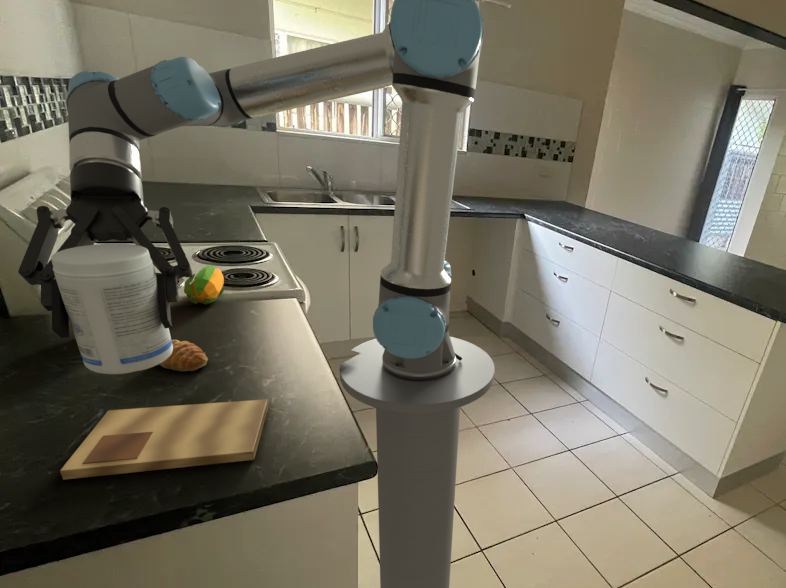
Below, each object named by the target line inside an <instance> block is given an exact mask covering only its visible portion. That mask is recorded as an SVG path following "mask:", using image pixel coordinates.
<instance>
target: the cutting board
mask: <svg viewBox="0 0 786 588" xmlns="http://www.w3.org/2000/svg"><path fill="white" fill-rule="evenodd" d="M269 407H270V406H269V399H264V398H263V399H251V400H238V401H223V402H208V403H196V404H195V403H193V404H182V405H165V406H154V407H152V406H150V407H138V408H137V407H136V408H123V409H109V410H107V411H106V413H105V414H104V415H103V416H102V418H100V420H99V421H98V422H97V424H96V425H95V426H94V428H93V429H91V431H90V432H89V434H88V435H87V436H86V437H85V438H84V440H83V441H82V442H81V444H80V445H79V446H78V448H77V449H76V450H75V451H74V452H73V454H72V455H71V456H70V458H69V459H68V460H67V461H66V462H65V464H64V465H63V466H62V467H61V469H60V470H59V472H60V475H61V478H62V480H63V481H65V480H74V479H76V480H77V479H84V478H92V477H93V478H94V477H103V476H112V475H114V476H115V475H121V474H123V475H124V474H132V473H143V472H151V471H160V470H171V469H179V468H189V467H198V466H200V467H201V466H208V465H219V464H227V463H236V462H245V461H247V462H248V461H255V458H256V454H257V452H258V447H259V443H260V439H261V436H262V432H263V429H264V425H265V421H266V417H267V414H268V410H269Z"/></svg>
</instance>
